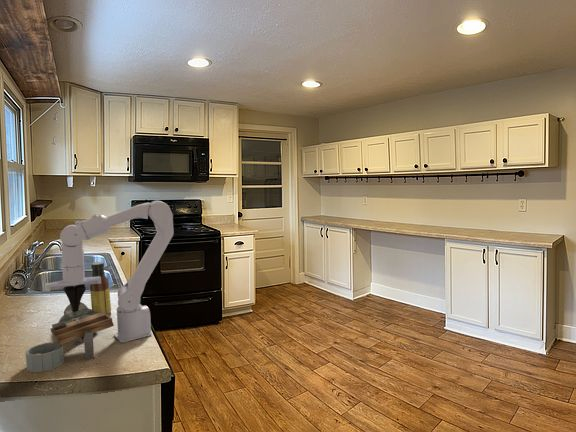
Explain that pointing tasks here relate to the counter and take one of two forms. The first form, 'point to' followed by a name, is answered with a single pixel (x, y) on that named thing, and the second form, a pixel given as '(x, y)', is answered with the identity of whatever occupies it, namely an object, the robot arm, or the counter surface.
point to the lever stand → (86, 344)
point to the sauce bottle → (100, 291)
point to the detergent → (76, 313)
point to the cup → (44, 357)
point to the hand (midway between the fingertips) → (75, 310)
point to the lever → (80, 327)
